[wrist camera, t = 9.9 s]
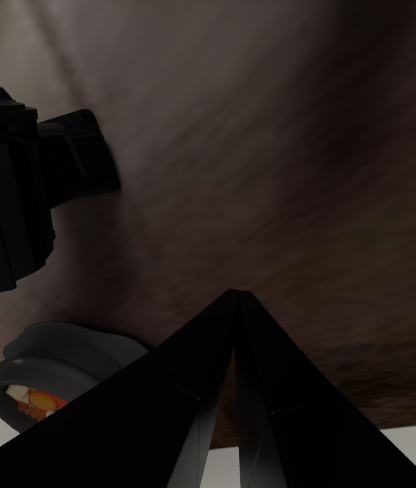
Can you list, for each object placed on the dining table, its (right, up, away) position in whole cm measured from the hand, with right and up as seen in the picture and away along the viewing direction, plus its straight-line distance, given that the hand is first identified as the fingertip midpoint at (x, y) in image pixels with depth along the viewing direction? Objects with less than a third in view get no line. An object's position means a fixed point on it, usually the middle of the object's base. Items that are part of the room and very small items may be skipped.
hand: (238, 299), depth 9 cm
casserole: (-18, -15, +26) cm, 35 cm away
